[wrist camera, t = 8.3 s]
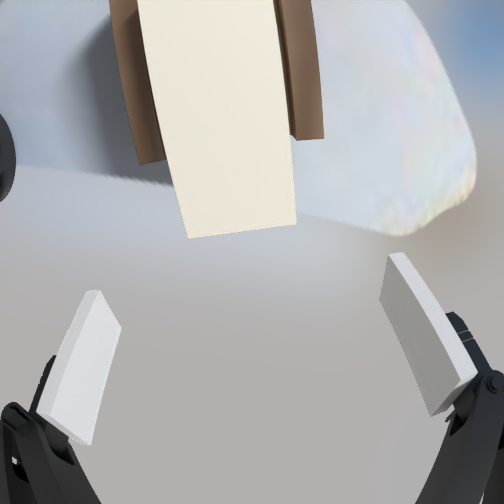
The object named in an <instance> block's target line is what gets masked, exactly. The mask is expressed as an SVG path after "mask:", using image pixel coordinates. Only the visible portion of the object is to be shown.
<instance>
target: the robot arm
mask: <svg viewBox="0 0 504 504" xmlns="http://www.w3.org/2000/svg"><path fill="white" fill-rule="evenodd" d="M15 168H16V157H15V148H14V143H13V139H12V135H11V132H10V130H9V127H8V125H7V123H6V121H5V120H4V118H3V117H2V116H1V114H0V202H1V201H2V200H3V199H4V198H5V197H6V196H7V195H8V193H9V191H10V189H11V187H12V184H13V181H14V176H15ZM380 302H381V304H382V306H383V308H384V310H385V312H386V314H387V316H388V318H389V320H390V322H391V324H392V326H393V329H394V331H395V333H396V335H397V337H398V339H399V342H400V344H401V346H402V348H403V351H404V353H405V355H406V357H407V360H408V362H409V364H410V367H411V369H412V371H413V374H414V376H415V378H416V381H417V383H418V386H419V388H420V391H421V393H422V396H423V398H424V401H425V404H426V406H427V409H428V412H429V414H430V417H431V416H434V415H436V414H439V413H441V412H444V411H446V410H447V409H448V408H449V407H450V406H451V405H452V404H453V405H454V408H455V410H454V411H453V412H452V413H451V414H450V415H449V416H448V417H447V419H446V420H445V422H448V421H449V420H450V419H451V420H450V423H449V426H448V429H447V432H446V435H445V437H444V440H443V443H442V446H441V448H440V451H439V454H438V456H437V458H436V461H435V463H434V465H433V468H432V470H431V472H430V474H429V477H428V479H427V481H426V483H425V485H424V487H423V489H422V491H421V493H420V495H419V497H418V499H417V501H416V503H415V504H479V503H480V500H481V498H482V496H483V493H484V496H483V501H482V504H504V374H503V373H501V372H499V371H497V370H492V369H491V367H490V366H489V364H488V362H487V360H486V358H485V357H484V355H483V353H482V351H481V350H480V348H479V346H478V344H477V343H476V341H475V339H473V336H472V334H471V333H470V331H468V328H467V326H466V324H465V323H464V321H463V320H462V319H461V318H460V317H459V316H458V315H457V314H455V313H454V312H450V313H446V314H445V313H444V312H443V310H442V309H441V307H440V305H439V304H438V302H437V301H436V299H435V298H434V296H433V295H432V293H431V292H430V290H429V288H428V287H427V286H426V284H425V283H424V281H423V280H422V278H421V277H420V275H419V274H418V272H417V271H416V270H415V268H414V267H413V265H412V264H411V263H410V261H409V260H408V259H407V257H406V256H405V254H404V253H403V252H400V253H393V254H388V259H387V264H386V270H385V275H384V280H383V285H382V290H381V295H380ZM121 330H122V328H121V327H120V325H119V323H118V321H117V320H116V318H115V316H114V315H113V313H112V311H111V309H110V307H109V306H108V304H107V302H106V300H105V298H104V297H103V295H102V293H101V291H100V290H99V289H98V290H88V291H87V292H86V294H85V296H84V298H83V300H82V302H81V304H80V306H79V308H78V310H77V312H76V314H75V316H74V318H73V320H72V323H71V325H70V327H69V329H68V331H67V333H66V335H65V338H64V340H63V343H62V345H61V347H60V349H59V352H58V354H57V356H56V355H53V357H52V358H51V359H50V360H49V362H48V363H47V364H46V367H45V369H44V372H43V376H42V377H41V379H40V384H38V387H37V390H36V393H35V395H34V398H33V401H32V404H31V407H30V410H29V412H27V411H26V410H25V409H23V407H21V406H20V405H19V404H18V403H16V402H11V403H9V404H8V405H6V406H5V407H4V409H3V411H2V414H1V420H0V504H101V502H100V501H99V499H98V497H97V495H96V494H95V492H94V490H93V489H92V487H91V485H90V483H89V481H88V479H87V477H86V475H85V473H84V472H83V469H82V468H81V466H80V463H79V461H78V459H77V457H76V455H75V453H74V451H73V448H72V446H71V445H70V443H69V442H68V438H71V439H73V440H74V441H75V442H77V443H81V444H85V445H91V442H92V437H93V432H94V428H95V424H96V419H97V415H98V411H99V407H100V403H101V399H102V394H103V391H104V387H105V384H106V380H107V376H108V373H109V369H110V366H111V362H112V359H113V356H114V352H115V349H116V346H117V343H118V339H119V336H120V333H121ZM12 457H14V458H15V459H17V464H14V463H12Z"/></svg>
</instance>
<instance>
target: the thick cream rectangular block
mask: <svg viewBox="0 0 504 504" xmlns="http://www.w3.org/2000/svg"><path fill="white" fill-rule="evenodd" d="M137 2H138V9H139V16H140V23H141V30H142V36H143V42H144V48H145V54H146V60H147V65H148V71H149V76H150V82H151V87H152V92H153V97H154V102H155V107H156V111H157V116H158V121H159V125H160V130H161V134H162V139H163V143H164V148H165V152H166V156H167V160H168V165H169V169H170V173H171V177H172V181H173V185H174V189H175V193H176V196H177V200H178V204H179V208H180V211H181V215H182V219H183V223H184V226H185V230H186V233H187V237H188V239H193V238H199V237H206V236H213V235H220V234H227V233H234V232H241V231H248V230H256V229H263V228H270V227H277V226H285V225H293V224H296V207H295V192H294V179H293V166H292V154H291V143H290V132H289V122H288V112H287V103H286V94H285V85H284V77H283V68H282V61H281V53H280V45H279V38H278V31H277V24H276V18H275V11H274V5H273V0H137Z"/></svg>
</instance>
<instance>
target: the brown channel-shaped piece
mask: <svg viewBox="0 0 504 504" xmlns="http://www.w3.org/2000/svg"><path fill="white" fill-rule="evenodd" d="M109 4H110V13H111V21H112V29H113V36H114V43H115V49H116V55H117V61H118V67H119V73H120V78H121V84H122V89H123V94H124V99H125V104H126V108H127V113H128V118H129V122H130V126H131V131H132V135H133V139H134V143H135V147H136V151H137V155H138V159H139V163H140V165H143V164H147V163H152V162H157V161H161V160H165V159H166V158H167V156H166V152H165V148H164V143H163V139H162V134H161V130H160V125H159V121H158V116H157V111H156V107H155V102H154V97H153V92H152V87H151V82H150V76H149V71H148V65H147V60H146V54H145V48H144V42H143V36H142V30H141V23H140V16H139V9H138V2H137V0H109ZM273 5H274V11H275V18H276V24H277V31H278V38H279V45H280V53H281V61H282V68H283V77H284V85H285V94H286V103H287V112H288V122H289V132H290V135H292V136H293V137H294V138H295V139H296V140H297V141H299V140H312V139H324V130H323V112H322V97H321V84H320V73H319V62H318V53H317V44H316V35H315V27H314V20H313V13H312V6H311V0H273Z"/></svg>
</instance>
